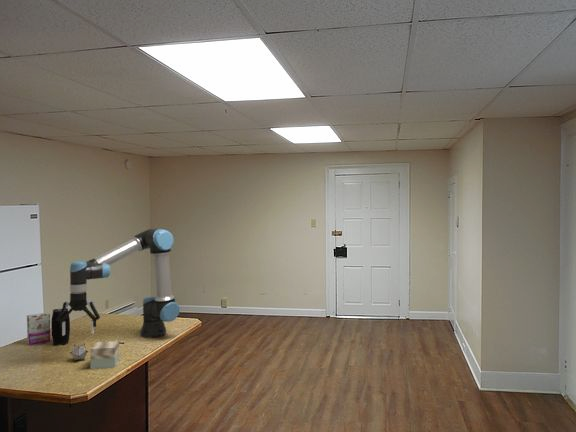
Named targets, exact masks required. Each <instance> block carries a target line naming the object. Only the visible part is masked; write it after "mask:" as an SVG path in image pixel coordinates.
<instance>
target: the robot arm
mask: <svg viewBox="0 0 576 432" xmlns="http://www.w3.org/2000/svg"><path fill="white" fill-rule="evenodd" d="M174 241H175V240H174V235H173V234H172V233H171V232H170V231H168V230H166V229H162V228H149V229H146V230H144V231H141V232H139V233H137V234H135V235H134V236H132V237H131V239H130V240H127V241H126V242H124V243H122V244H120V245H118V246H115V247H113V248H112V249H110V250H107V251H106V252H104V253H102V254H100V255H97V256H96V257H93V258H91V259H89V260H87V261H72V262H71V263H70V267H69V268H70V269H69V275H70V277H69V280H70V281H69V282H70V283H69V292H70V294H69V301H68V302H67V301H64V302H63V303H62V307H61V308H60V309H61V311H60V313H59V315H58V317H57V319H56V321H59V322H60V328H61V329H62V336H64V335H65V321H64V320H65V319H66V317H67V316H68V315H69V316H70V314H71V313H72V312H73V311H74V312H81V311H83V312H84V313H86V315H87V316H88V317H89V318H90V319H91V323H90V325H91V331H90V332H91V333H90V334H91V335H94V333H95V327H97V321H98V320H100V318H101V316H100V314H99V313H98V310H97V308H96V306H95V305H94V303H95V302H94V301H93V300H91V301H88V300H87V297H88V296H87V295H88V294H87V288H88V287H87V285H88V284H87V283H88V282H87V280H98V279H104V278H105V279H106V278H109V277H110V275H111V265H113V264H115V263H117V262H118V261H121V260H122V259H125V258H127V257H129V256H131V255H132V254H134V253H136V252H142V251H144V250H148V249H149V253H150V255H151V256H152V259H153V267H154V278H155V279H154V280H155V289H156V290H155V291H156V295H153V296H147V297H144V298H143V300H142V310H143V311H142V312H143V313H142V318H143V323H142V326H141V329H140V332H139V333H140V336H141V337H143V338H158V336H159V337H163V336H165V335H166V334H167V328H166V325H165V323H166V322H168V323H171V322H173V321H175V320H176V319H177V317H178V316H179V314H180V309H181V307H180V305H179V304H178V303H177V302H176V297H175V296H174V295H173V291H172V282H171V281H172V280H171V270H170V269H171V268H170V266H171V265H170V258H169V254H170V253H171V252H172V250H171V249H172V248H173V245H174ZM87 305H88V307H90V309H91V311H92V312H93V313H92V312H91V311H90V310H89V308H88V307H87ZM67 307H70V309H68V312H67V313H66V315H65V316H64V317H63V318H62V319H60V318H61V316H62V314H63V313H64V311H65V309H66V308H67ZM162 335H163V336H162Z"/></svg>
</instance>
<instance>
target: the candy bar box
mask: <svg viewBox="0 0 576 432" xmlns="http://www.w3.org/2000/svg"><path fill="white" fill-rule="evenodd" d="M26 327H27V328H26V329H27V330H26V332H27V338H26V339H27V345H28V346H34V345H35V346H36V345H40V344H45V343H49V342H51V315H50V312H42V313H35V314H29V315H28V314H27V315H26Z"/></svg>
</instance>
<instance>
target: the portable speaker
mask: <svg viewBox="0 0 576 432" xmlns="http://www.w3.org/2000/svg"><path fill="white" fill-rule="evenodd" d="M61 309H62V308H54V309H53V310H52V314H51V315H52V316H51V319H50V330H51V339H52V343H53V346H57V345H63V346H65V345H67V344H69V340H70V333H71V319H70V314H69V315H68V316H67V317H66V319H65V320H64V321H65V335H64V336H62V329H61V328H60V322H59V321H56V319H57V317H58V315H59V313H60V311H61ZM68 311H69V309H68V308H67V307H66V309H65V311H64V313H63V314H62V316H61V318H60V319H62V318H63V317H64V316H65V315H66V313H67V312H68Z"/></svg>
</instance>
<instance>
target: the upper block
mask: <svg viewBox="0 0 576 432" xmlns="http://www.w3.org/2000/svg"><path fill="white" fill-rule="evenodd" d="M118 352H119V353H120V341H118V340H116V341H115V340H114V341H97V342H95V343H94V344H93V346H91V348H90V351H89V353H90V354H89V355H90V356H89V359H90V360H91V359H107V358H115V357H116V355H117V353H118Z"/></svg>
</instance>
